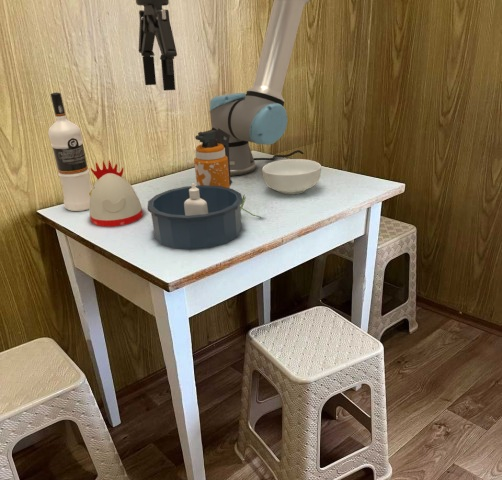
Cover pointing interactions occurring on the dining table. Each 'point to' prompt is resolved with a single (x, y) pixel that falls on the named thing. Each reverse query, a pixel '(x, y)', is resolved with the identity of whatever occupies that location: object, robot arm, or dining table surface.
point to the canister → (213, 159)
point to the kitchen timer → (113, 199)
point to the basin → (196, 217)
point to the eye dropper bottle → (195, 203)
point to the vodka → (70, 159)
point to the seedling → (244, 209)
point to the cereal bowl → (291, 175)
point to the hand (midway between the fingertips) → (159, 87)
